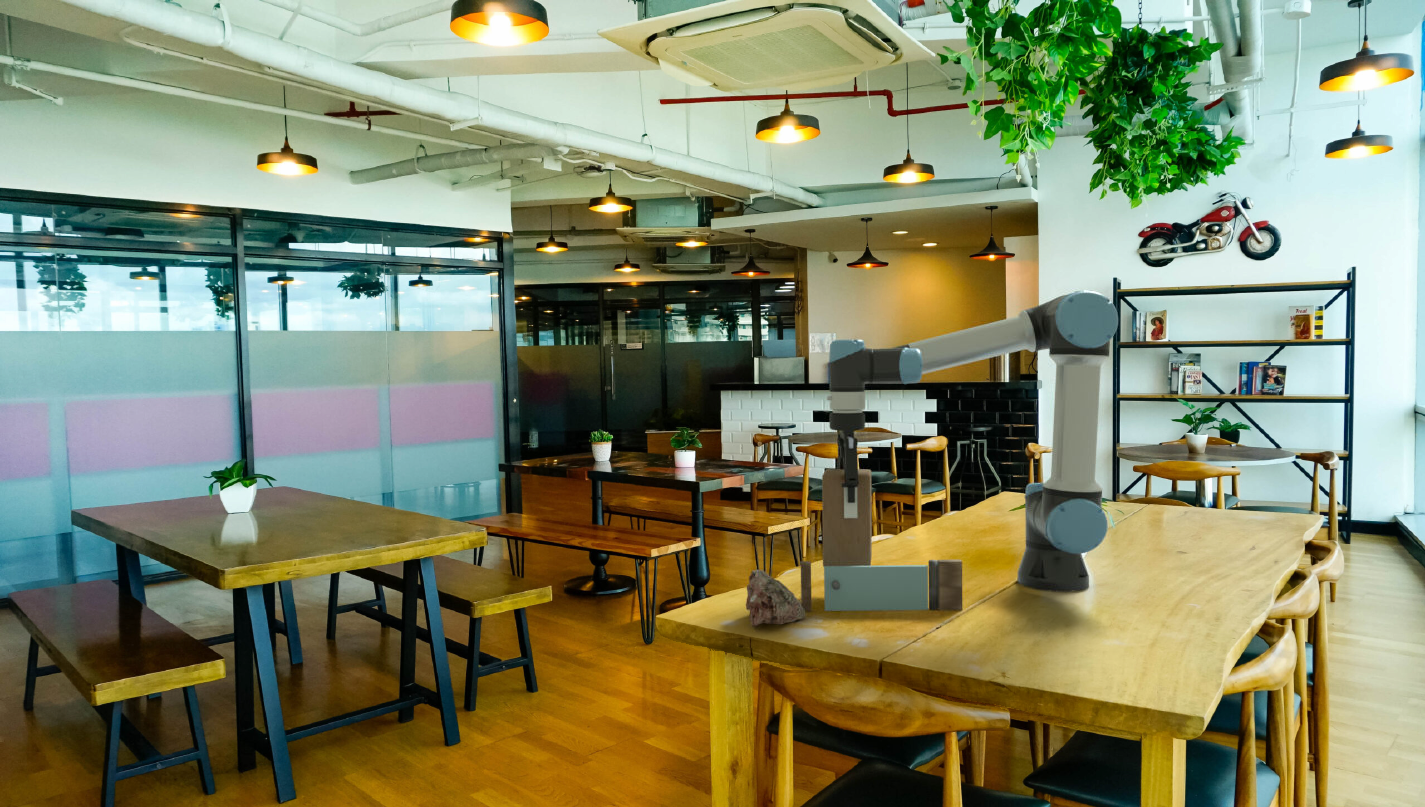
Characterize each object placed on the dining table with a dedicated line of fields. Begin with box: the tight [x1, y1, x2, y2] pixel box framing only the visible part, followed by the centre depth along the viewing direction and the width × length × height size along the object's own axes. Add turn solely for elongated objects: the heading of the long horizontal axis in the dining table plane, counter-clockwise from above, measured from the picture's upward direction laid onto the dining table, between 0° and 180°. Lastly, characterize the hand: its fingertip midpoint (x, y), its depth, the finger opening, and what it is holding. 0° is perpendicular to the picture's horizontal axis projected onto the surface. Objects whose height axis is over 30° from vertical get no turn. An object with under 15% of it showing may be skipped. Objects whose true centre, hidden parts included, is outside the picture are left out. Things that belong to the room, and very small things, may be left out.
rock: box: [745, 569, 806, 628], centre depth 178 cm, size 16×11×15 cm
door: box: [823, 564, 929, 612], centre depth 183 cm, size 21×3×9 cm, turn 88°
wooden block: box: [821, 468, 873, 568], centre depth 194 cm, size 10×10×20 cm
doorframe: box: [800, 559, 963, 612], centre depth 184 cm, size 33×2×10 cm, turn 88°
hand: (847, 513), depth 193 cm, fingers closed on wooden block, 11 cm apart
